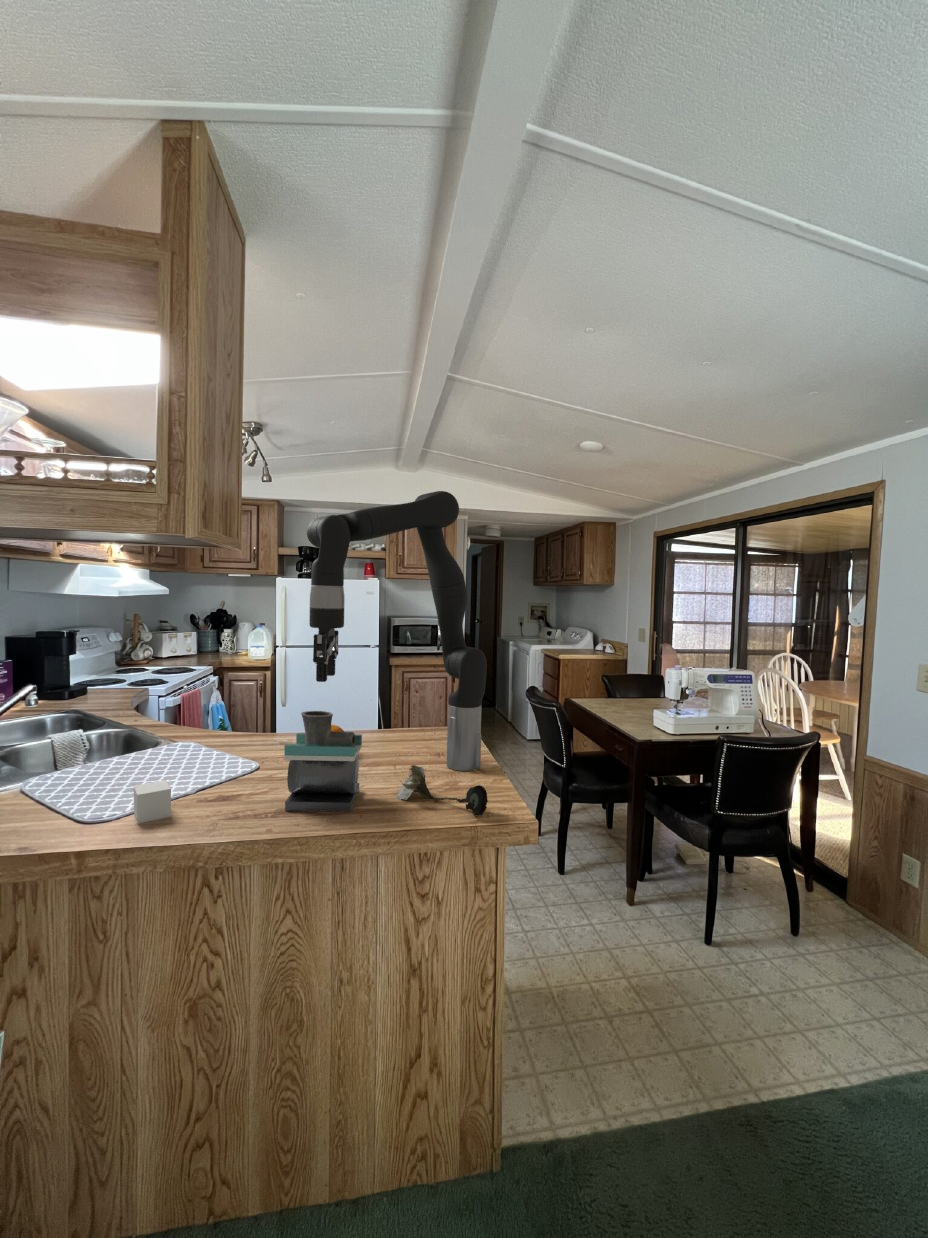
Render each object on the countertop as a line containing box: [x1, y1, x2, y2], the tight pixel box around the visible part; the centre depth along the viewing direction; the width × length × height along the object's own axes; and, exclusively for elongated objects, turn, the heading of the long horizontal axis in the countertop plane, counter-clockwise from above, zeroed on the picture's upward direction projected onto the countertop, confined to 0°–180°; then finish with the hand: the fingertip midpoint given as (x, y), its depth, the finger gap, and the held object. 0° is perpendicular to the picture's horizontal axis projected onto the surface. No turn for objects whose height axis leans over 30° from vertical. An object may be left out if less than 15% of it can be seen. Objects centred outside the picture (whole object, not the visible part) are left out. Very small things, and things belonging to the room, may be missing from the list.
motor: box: [283, 732, 363, 813], centre depth 121 cm, size 15×12×14 cm
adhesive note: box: [133, 779, 172, 825], centre depth 111 cm, size 6×6×6 cm
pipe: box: [300, 710, 356, 746], centre depth 121 cm, size 6×13×8 cm, turn 80°
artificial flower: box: [394, 764, 489, 818], centre depth 122 cm, size 9×22×10 cm, turn 54°
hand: (326, 678), depth 120 cm, fingers open, 8 cm apart
